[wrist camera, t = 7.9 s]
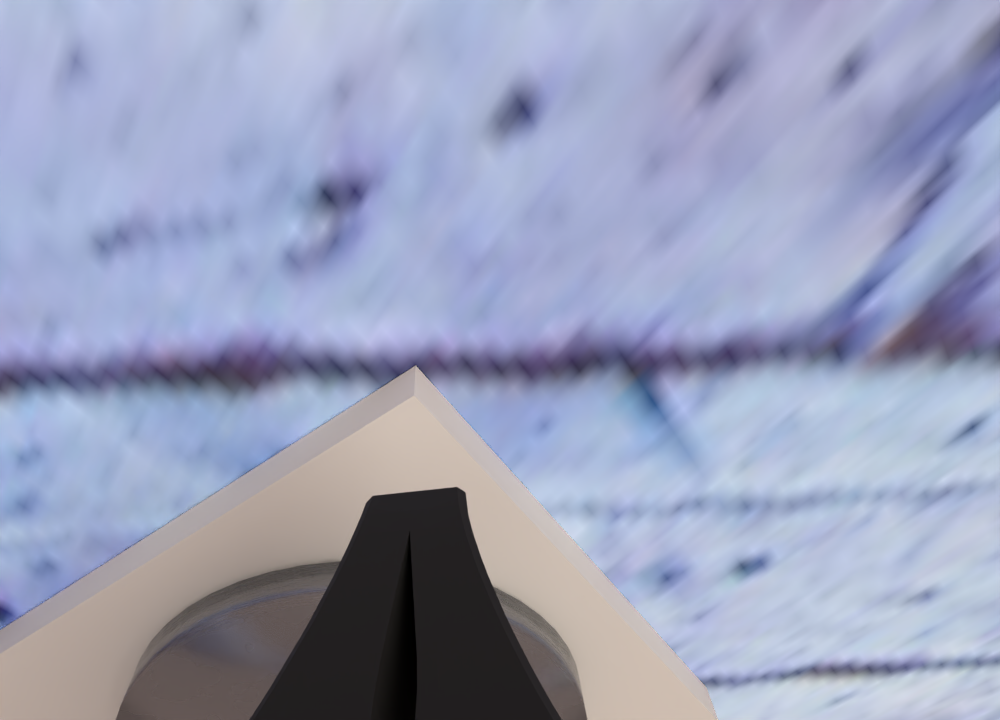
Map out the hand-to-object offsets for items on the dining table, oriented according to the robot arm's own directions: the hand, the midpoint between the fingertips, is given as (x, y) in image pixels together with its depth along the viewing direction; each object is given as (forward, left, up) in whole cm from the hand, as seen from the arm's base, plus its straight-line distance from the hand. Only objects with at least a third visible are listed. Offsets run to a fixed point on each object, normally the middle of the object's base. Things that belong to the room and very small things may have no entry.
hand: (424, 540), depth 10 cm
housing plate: (-12, -12, -9) cm, 19 cm away
